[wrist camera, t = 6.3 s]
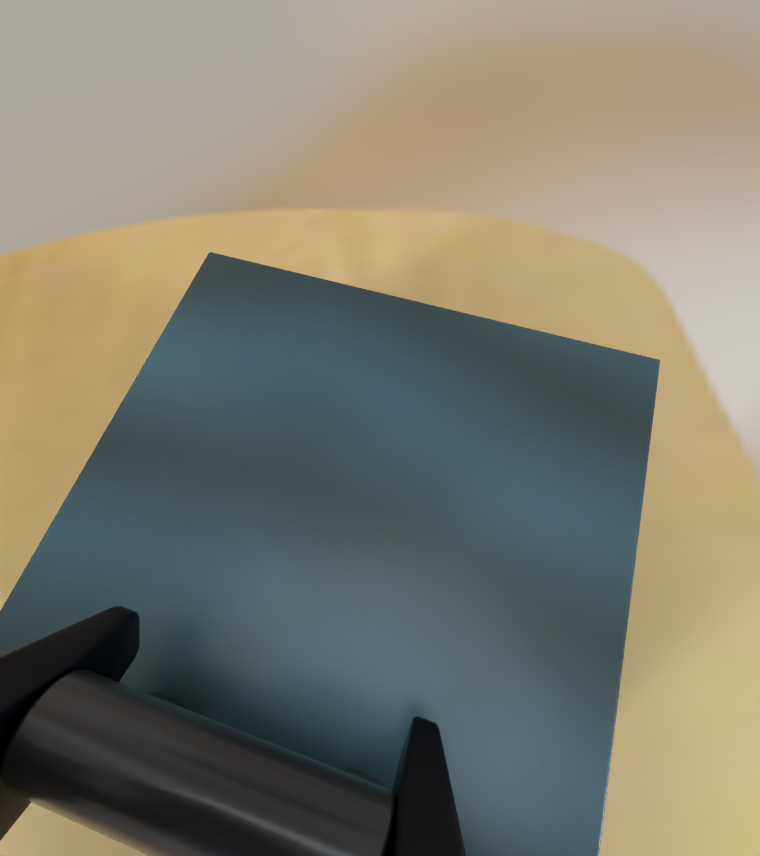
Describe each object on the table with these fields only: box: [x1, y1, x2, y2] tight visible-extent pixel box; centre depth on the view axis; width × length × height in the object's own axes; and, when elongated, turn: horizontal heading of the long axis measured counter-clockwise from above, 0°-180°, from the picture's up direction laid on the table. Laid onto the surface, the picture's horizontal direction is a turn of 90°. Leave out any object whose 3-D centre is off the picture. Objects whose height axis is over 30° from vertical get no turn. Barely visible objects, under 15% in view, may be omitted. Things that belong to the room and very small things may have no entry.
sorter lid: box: [0, 252, 660, 856], centre depth 10 cm, size 13×12×4 cm
